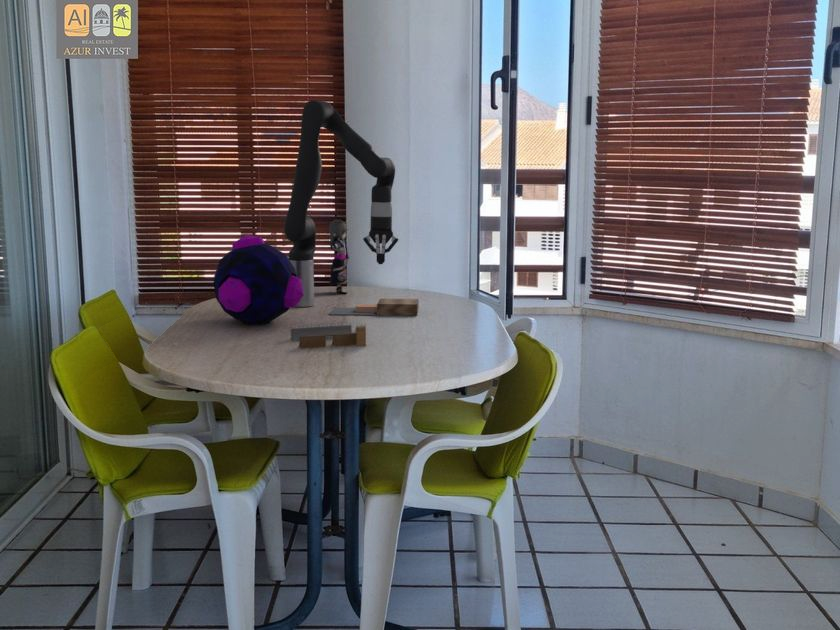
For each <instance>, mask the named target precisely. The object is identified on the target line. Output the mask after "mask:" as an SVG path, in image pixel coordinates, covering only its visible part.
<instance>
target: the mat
mask: <svg viewBox="0 0 840 630" xmlns="http://www.w3.org/2000/svg"><path fill="white" fill-rule="evenodd" d="M376 313H377V312H356V307H333V308H332V310H331V311H330V312H329V313H328V316H369V317H371V316H372V317H373V316H374V317H375V315H376Z"/></svg>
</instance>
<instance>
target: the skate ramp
mask: <svg viewBox="0 0 840 630" xmlns="http://www.w3.org/2000/svg"><path fill="white" fill-rule="evenodd" d="M366 326H367V324H366V323H364V324H363V323H360V325H359V324H356V327H355V329H354V331H353V330H352V324H347V321H346V322H341V325H340V322H337V323H333V325H331V323H330V322H329V323H326V325H324V326H321V324H316V326H314V324H311V323H310V324H309V326H307V327H304V325H299V327H297V324H296V325H293V324H292V326H290V340H291V341H292V342H298V347H299V348H300V349H311V348H313V349H315V348H326V347H327V340H332V342H331V345H332V346H333V347H341V346H345V347H346V346H356V347H367V345H366V344H367V337H366V336H367V335H366V334H367V332H366V331H367V328H366ZM296 327H297V328H296Z"/></svg>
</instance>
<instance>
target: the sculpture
mask: <svg viewBox="0 0 840 630" xmlns="http://www.w3.org/2000/svg"><path fill="white" fill-rule="evenodd" d="M231 248H232V249H231V250H230V251H228V252H227V253H226V254H225V255H224V256H223V257H222V258H220V260H219V262H218V264H217V267H216V270H215V273H214V276H213V287H214V288H213V289H214V294H215V299H216V300H217V302H218V304H219V305H220V307H221V309H222V310H223V312H225V313H226V314H228V315H229V316H231V317H232V318H233V319H235V320H237V321H239V322H241V323H242V324H248V325H249V324H251V325H258V326H259V325H265V324H268V323H271V322H273V321H274V320H276V319H277V318H279V317H281V316H282V315H284V314H285V313H287V312H288V311H289V310H290V309H291V308H292V309H293V308H297V307H296V306H297V304H298V303H299V301H300V300H301V298H302V297H303V295H304V294H303V288H302V281H301V279H299V278H297V277H296V271H295V268H294V266H293V265H292V263H291V261H290V260H289V258H288V255H286V254H285V253H284V252H282V251H281V250H279V249H278V248H276V247H274V246H273V245H270V244H269V243H266V242H265V241H264V238H263V237H260V236H255V235H250V234H244V235H243V236H241V237H240V238H239V239H237V240H235V241H234V242H233V243H232V245H231Z"/></svg>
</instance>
